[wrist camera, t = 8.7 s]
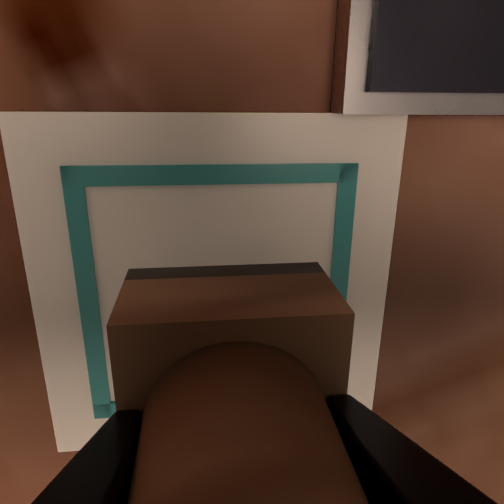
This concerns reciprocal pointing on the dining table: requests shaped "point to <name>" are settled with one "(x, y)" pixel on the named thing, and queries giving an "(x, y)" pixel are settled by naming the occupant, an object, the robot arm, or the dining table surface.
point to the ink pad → (419, 57)
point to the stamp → (234, 383)
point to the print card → (192, 222)
